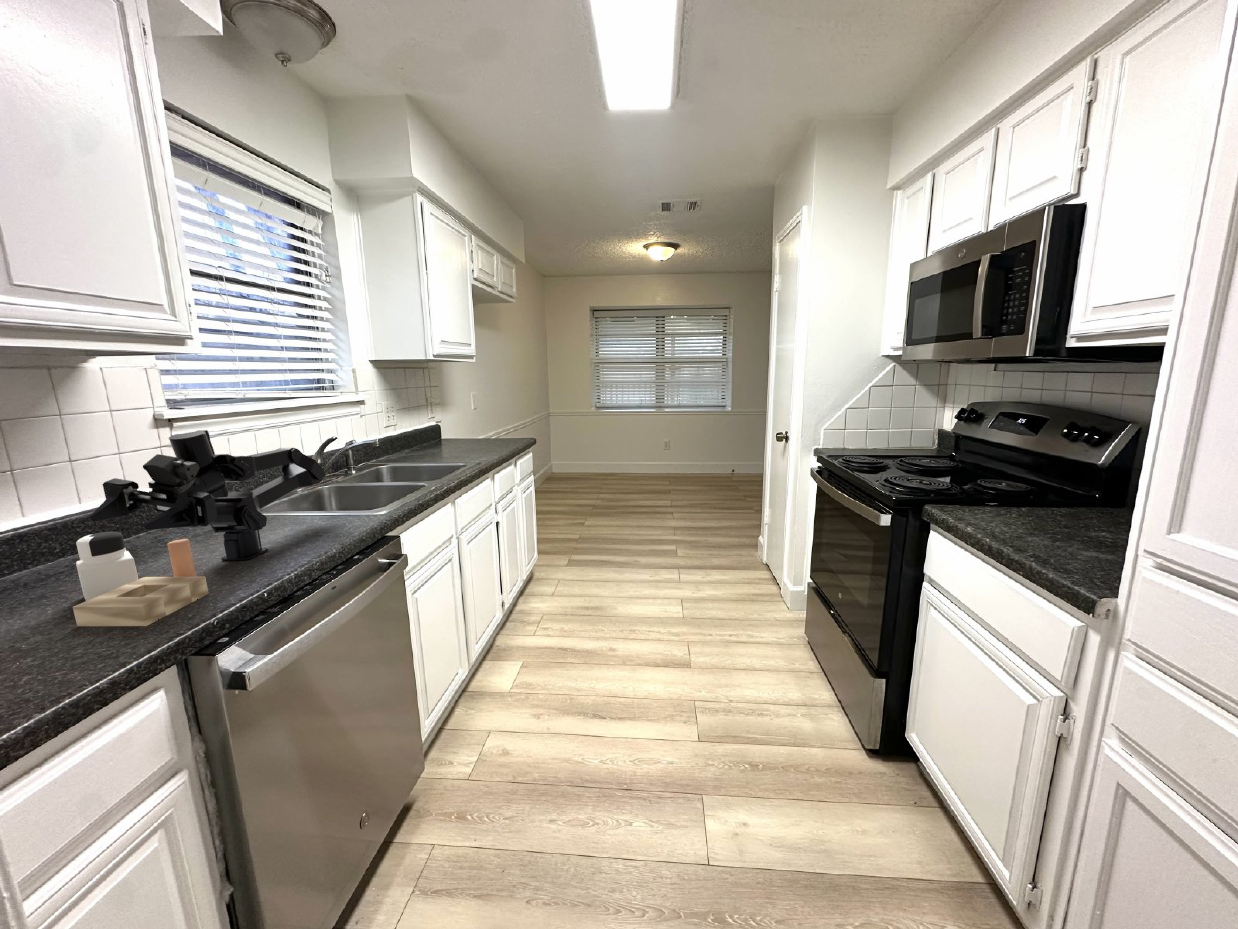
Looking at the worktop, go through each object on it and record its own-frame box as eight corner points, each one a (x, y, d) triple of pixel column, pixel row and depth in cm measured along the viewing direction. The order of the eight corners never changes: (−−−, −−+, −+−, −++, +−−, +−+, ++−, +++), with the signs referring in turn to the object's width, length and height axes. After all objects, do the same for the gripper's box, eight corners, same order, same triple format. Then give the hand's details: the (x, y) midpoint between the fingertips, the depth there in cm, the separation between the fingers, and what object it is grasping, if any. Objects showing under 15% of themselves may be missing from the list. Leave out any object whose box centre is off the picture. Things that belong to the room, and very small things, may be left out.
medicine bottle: (135, 583, 99) (122, 526, 97) (141, 593, 95) (128, 533, 92) (83, 596, 94) (69, 536, 92) (87, 607, 89) (72, 543, 87)
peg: (186, 582, 99) (178, 539, 98) (201, 581, 99) (193, 538, 98) (171, 588, 96) (162, 544, 95) (187, 588, 96) (178, 544, 94)
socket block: (147, 594, 94) (144, 577, 93) (208, 593, 93) (205, 576, 93) (77, 626, 82) (72, 606, 81) (146, 626, 82) (142, 606, 81)
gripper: (138, 441, 97) (51, 471, 83) (234, 457, 98) (165, 490, 83) (148, 492, 101) (67, 529, 87) (241, 507, 102) (175, 547, 87)
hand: (118, 523), depth 86 cm, fingers open, 9 cm apart
